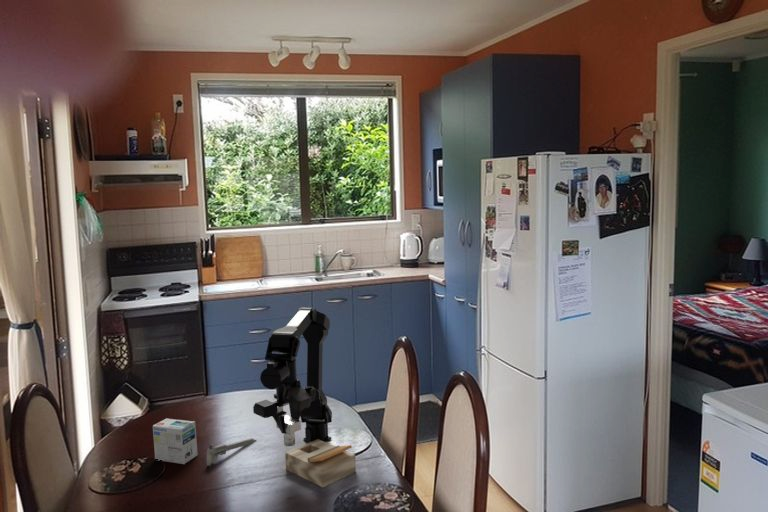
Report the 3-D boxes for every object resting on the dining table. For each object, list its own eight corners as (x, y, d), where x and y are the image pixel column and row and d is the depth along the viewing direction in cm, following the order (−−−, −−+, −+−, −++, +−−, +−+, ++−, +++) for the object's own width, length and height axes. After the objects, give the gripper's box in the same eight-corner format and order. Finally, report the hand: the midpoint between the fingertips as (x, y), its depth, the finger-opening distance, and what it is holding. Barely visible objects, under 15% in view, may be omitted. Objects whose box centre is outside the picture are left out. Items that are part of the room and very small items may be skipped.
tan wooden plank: (307, 462, 170) (307, 458, 170) (338, 449, 178) (337, 445, 178) (321, 460, 166) (320, 457, 166) (351, 447, 174) (350, 444, 174)
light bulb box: (198, 455, 188) (196, 420, 187) (184, 465, 182) (182, 429, 180) (168, 451, 192) (166, 417, 190) (153, 460, 185) (151, 425, 184)
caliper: (209, 468, 180) (208, 447, 179) (206, 467, 180) (205, 446, 180) (256, 441, 198) (255, 422, 197) (253, 440, 198) (252, 421, 197)
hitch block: (285, 469, 177) (285, 452, 177) (318, 455, 186) (318, 439, 185) (322, 487, 166) (322, 469, 165) (355, 471, 174) (355, 454, 174)
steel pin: (288, 438, 178) (286, 414, 177) (301, 445, 173) (300, 420, 172) (277, 442, 175) (276, 418, 174) (291, 449, 171) (290, 424, 170)
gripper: (274, 392, 159) (278, 450, 162) (331, 374, 172) (333, 428, 175) (250, 382, 167) (254, 438, 169) (306, 366, 180) (308, 418, 182)
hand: (288, 430), depth 174 cm, fingers closed on steel pin, 4 cm apart
